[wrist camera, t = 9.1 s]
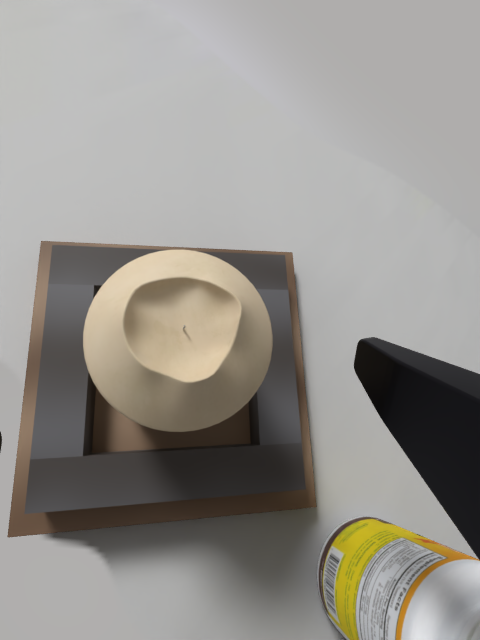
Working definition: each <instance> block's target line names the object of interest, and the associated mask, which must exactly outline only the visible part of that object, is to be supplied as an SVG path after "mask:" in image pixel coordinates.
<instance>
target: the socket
mask: <svg viewBox="0 0 480 640" xmlns="http://www.w3.org/2000/svg"><path fill="white" fill-rule="evenodd" d="M164 250H191V251H197V252H202V253H206V254H209V255H211V256H214V257H217V258H219V259H221V260H223V261H225V262H227V263H228V264H230V265H231V266H233V267H234V268H236V269H237V270H238V271H239V272H241V273H242V274H243V275H244V276H245V277H246V278H247V279H248V280H249V281H250V282H251V283H252V284H253V286H254V287H255V289H256V290H257V291H258V293H259V294H260V296H261V298H262V300H263V302H264V304H265V306H266V309H267V311H268V314H269V318H270V322H271V327H272V335H273V347H272V354H271V360H270V364H269V367H268V371H267V373H266V375H265V378H264V380H263V382H262V384H261V385H260V387H259V389H258V390H257V392H256V393H255V394H254V396H253V397H252V398H251V399H250V401H249V402H248V403H247V404H245V405H244V406H243V407H242V408H241V409H240V410H239V411H238V412H236V413H235V414H233V415H232V416H231V417H229V418H227V419H225V420H224V421H222V422H220V423H218V424H215V425H213V426H210V427H207V428H203V429H199V430H195V431H186V432H168V431H162V430H156V429H152V428H149V427H146V426H143V425H140V424H138V423H136V422H134V421H132V420H130V419H128V418H127V417H125V416H124V415H122V414H121V413H119V412H118V411H117V410H116V409H115V408H113V407H112V406H111V405H110V404H109V403H108V402H107V401H106V400H105V398H104V397H103V396H102V395H101V394H100V392H99V391H98V389H97V387H96V386H95V384H94V383H93V380H92V378H91V376H90V374H89V371H88V368H87V365H86V361H85V357H84V349H83V331H84V325H85V320H86V317H87V313H88V310H89V307H90V305H91V303H92V301H93V299H94V297H95V296H96V294H97V292H98V291H99V289H100V288H101V287H102V285H103V284H104V283H105V282H106V281H107V280H108V278H109V277H111V276H112V275H113V274H114V273H115V272H116V271H117V270H119V269H120V268H121V267H123V266H124V265H126V264H127V263H129V262H131V261H133V260H135V259H137V258H139V257H142V256H144V255H147V254H150V253H154V252H158V251H164ZM311 507H316V497H315V486H314V476H313V465H312V455H311V444H310V434H309V423H308V412H307V402H306V391H305V381H304V370H303V359H302V349H301V338H300V328H299V317H298V307H297V296H296V285H295V275H294V264H293V254H292V252H270V251H248V250H227V249H205V248H183V247H161V246H139V245H117V244H96V243H74V242H52V241H41V246H40V255H39V264H38V273H37V282H36V290H35V299H34V308H33V317H32V326H31V335H30V343H29V352H28V361H27V370H26V379H25V388H24V396H23V405H22V414H21V423H20V432H19V441H18V450H17V459H16V468H15V476H14V485H13V494H12V502H11V512H10V520H9V529H8V537H17V536H26V535H37V534H47V533H57V532H67V531H78V530H88V529H98V528H108V527H118V526H128V525H138V524H149V523H159V522H169V521H179V520H189V519H199V518H210V517H220V516H230V515H240V514H250V513H260V512H271V511H281V510H291V509H301V508H311Z"/></svg>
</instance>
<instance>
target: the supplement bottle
mask: <svg viewBox="0 0 480 640" xmlns="http://www.w3.org/2000/svg"><path fill="white" fill-rule="evenodd" d="M317 585H318V591H319V596H320V599H321V602H322V605H323V607H324V610H325V612H326V614H327V615H328V617H329V619H330V620H331V622H332V623H333V624H334V625H335V627H336V628H337V629H338V630H339V632H340V633H341V634H342V635H343V636H344V638H345V639H346V640H480V560H478V559H476V558H473V557H471V556H468V555H466V554H464V553H462V552H459V551H456V550H454V549H451V548H449V547H447V546H444V545H442V544H439V543H437V542H434V541H432V540H429V539H427V538H425V537H423V536H420V535H418V534H415V533H413V532H410V531H408V530H406V529H403V528H401V527H398V526H396V525H393V524H391V523H389V522H386V521H383V520H381V519H378V518H374V517H356V518H352V519H349V520H347V521H345V522H343V523H342V524H340V525H339V526H338V527H336V528H335V529H334V530H333V531H332V533H331V534H330V535H329V536H328V538H327V540H326V541H325V543H324V545H323V547H322V550H321V553H320V556H319V560H318V566H317Z"/></svg>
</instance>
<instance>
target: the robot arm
mask: <svg viewBox="0 0 480 640" xmlns="http://www.w3.org/2000/svg"><path fill="white" fill-rule="evenodd" d="M354 369H355V372H356V374H357V376H358V378H359V380H360V381H361V383H362V385H363V387H364V389H365V391H366V392H367V394H368V396H369V398H370V400H371V401H372V403H373V405H374V407H375V409H376V410H377V412H378V414H379V416H380V417H381V419H382V420H383V422H384V423H385V425H386V426H387V428H388V429H389V431H390V432H391V434H392V435H393V436H394V438H395V439H396V441H397V442H398V444H399V445H400V446H401V448H402V449H403V451H404V452H405V454H406V455H407V457H408V458H409V459H410V461H411V462H412V464H413V465H414V467H415V468H416V469H417V471H418V472H419V474H420V475H421V477H422V478H423V480H424V481H425V482H426V484H427V485H428V487H429V488H430V490H431V491H432V492H433V494H434V495H435V497H436V498H437V500H438V501H439V503H440V504H441V505H442V507H443V508H444V510H445V511H446V513H447V514H448V515H449V517H450V518H451V520H452V521H453V523H454V524H455V526H456V527H457V528H458V530H459V531H460V533H461V534H462V536H463V537H464V538H465V540H466V541H467V543H468V544H469V546H470V547H471V549H472V550H473V551H474V553H475V554H476V556H477V557H478V559H479V560H480V374H478V373H475V372H472V371H469V370H466V369H464V368H461V367H458V366H455V365H452V364H449V363H446V362H444V361H441V360H438V359H435V358H432V357H429V356H427V355H424V354H421V353H418V352H415V351H412V350H410V349H407V348H404V347H401V346H398V345H395V344H392V343H390V342H387V341H384V340H381V339H378V338H375V337H371V338H365V339H361V340H360V341H359V342H358V345H357V350H356V355H355V361H354ZM1 444H2V436H1V432H0V450H1Z"/></svg>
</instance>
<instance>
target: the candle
mask: <svg viewBox="0 0 480 640" xmlns="http://www.w3.org/2000/svg"><path fill="white" fill-rule="evenodd" d="M272 347H273V335H272V327H271V322H270V318H269V314H268V311H267V309H266V306H265V304H264V302H263V300H262V298H261V296H260V294H259V293H258V291H257V290H256V289H255V287H254V286H253V284H252V283H251V282H250V281H249V280H248V279H247V278H246V277H245V276H244V275H243V274H242V273H241V272H239V271H238V270H237V269H236V268H234V267H233V266H231V265H230V264H228V263H227V262H225V261H223V260H221V259H219V258H217V257H214V256H211V255H209V254H206V253H202V252H197V251H191V250H164V251H158V252H154V253H150V254H147V255H144V256H142V257H139V258H137V259H135V260H133V261H131V262H129V263H127V264H126V265H124V266H123V267H121V268H120V269H119V270H117V271H116V272H115V273H114V274H113V275H112V276H111V277H109V278H108V280H107V281H106V282H105V283H104V284H103V285H102V287H101V288H100V289H99V291H98V292H97V294H96V296H95V297H94V299H93V301H92V303H91V305H90V307H89V310H88V313H87V317H86V320H85V325H84V331H83V349H84V357H85V361H86V365H87V368H88V371H89V374H90V376H91V378H92V380H93V383H94V384H95V386H96V387H97V389H98V391H99V392H100V394H101V395H102V396H103V397H104V398H105V400H106V401H107V402H108V403H109V404H110V405H111V406H112V407H113V408H115V409H116V410H117V411H118V412H119V413H121V414H122V415H124V416H125V417H127V418H128V419H130V420H132V421H134V422H136V423H138V424H140V425H143V426H146V427H149V428H152V429H156V430H162V431H168V432H186V431H195V430H199V429H203V428H207V427H210V426H213V425H215V424H218V423H220V422H222V421H224V420H225V419H227V418H229V417H231V416H232V415H233V414H235V413H236V412H238V411H239V410H240V409H241V408H242V407H243V406H244V405H245V404H247V403H248V402H249V401H250V399H251V398H252V397H253V396H254V394H255V393H256V392H257V390H258V389H259V387H260V385H261V384H262V382H263V380H264V378H265V375H266V373H267V371H268V367H269V364H270V360H271V354H272Z"/></svg>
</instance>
